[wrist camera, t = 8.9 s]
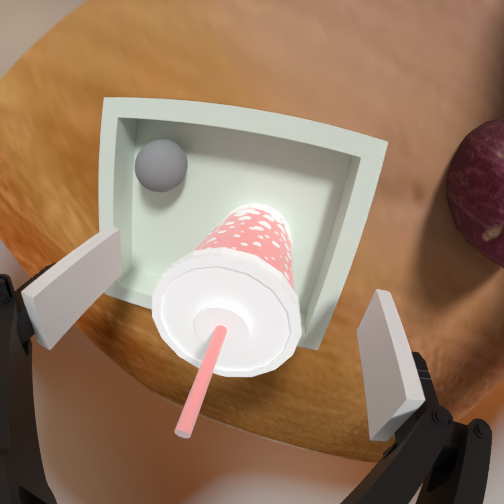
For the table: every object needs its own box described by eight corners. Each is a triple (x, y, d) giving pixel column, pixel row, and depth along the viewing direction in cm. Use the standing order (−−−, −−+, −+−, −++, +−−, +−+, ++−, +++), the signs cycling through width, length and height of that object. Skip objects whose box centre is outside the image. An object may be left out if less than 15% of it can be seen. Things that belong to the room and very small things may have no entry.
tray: (372, 137, 16) (388, 142, 13) (316, 319, 23) (317, 350, 20) (133, 97, 18) (104, 97, 14) (126, 272, 24) (104, 294, 21)
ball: (198, 139, 17) (178, 145, 14) (192, 189, 19) (172, 203, 16) (152, 134, 18) (126, 139, 15) (148, 181, 19) (123, 194, 16)
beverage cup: (229, 175, 18) (83, 313, 6) (320, 217, 18) (342, 422, 6) (198, 256, 21) (89, 424, 8) (278, 292, 21) (243, 488, 9)
